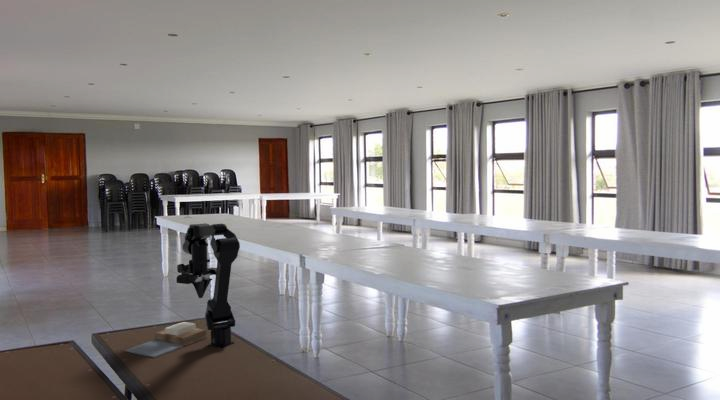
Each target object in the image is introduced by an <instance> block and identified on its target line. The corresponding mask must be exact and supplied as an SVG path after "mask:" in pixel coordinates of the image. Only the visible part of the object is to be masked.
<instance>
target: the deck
mask: <svg viewBox="0 0 720 400" xmlns="http://www.w3.org/2000/svg"><path fill="white" fill-rule="evenodd" d="M205 339H207V330H206V329H203V328H198V327H196V329H195V330H192V331H189V332H186V333H184V334H181V335H178V336H176V335H171V334H165V329H161V330H160V331H159V330H158V331H155V333H154V340H158V341H163V342H169V343H174V344H179V345H183V347H186V346H188V345H189V346H190V345H191V344H194V343H196V342H199V341H201V340H205Z"/></svg>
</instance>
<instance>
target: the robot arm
mask: <svg viewBox="0 0 720 400" xmlns="http://www.w3.org/2000/svg"><path fill="white" fill-rule="evenodd" d="M216 236H223V238H215V237H216ZM210 237H211V239H210V242H209V243H210V246H211V248H212V252H213V253H212V254H213V255H214V257H215V259H216V261H217V262H216V267H214V266H213V267H209V265H208V264H209V263H210V262H211V259H209V258H208V246H209V243H208V242H207V240H208V238H210ZM240 248H241V244H240V241H239V239H238V237H237V235H236V233H234V232H233V231H232V230H230V229H229V228H228V227H227V225H226V224H225V223H213V224H208V223H205V222H204V223H195V224H193V223H192V224H189V226H188V228H187V231H186V233H185V235H184V242H183V244H182V251H183V252H184V253H186V254H187V255H190V256H191V259H189V261H188V264H184V263H180V264H177V266H176V267H177V268H176V270H177V273H178V275H177V276H176V283H177V284H183V285H184V284H185V285H191V284H192V285H193V286H194V289H195V292H196V294H197V297H198V298H199V299H202V298H203V297H204V295H205V292H207V289H208V287H209V285H210V284H211V283H210V282H211V281H213V278H211V277H210V276H213V275H214V276H215V281H214V289H213V297H212V299H208V300H207V301H206V303H207V304H206V308H205V310H206V311H205V314H204V319H205V322H206V323H205V324H206V328H207V331H210V342H211V343H209V344H208V346H209V347H210V346H211V347H215V348H220V349H223V348H226V347H228V346H230V345H233V344H235V341H233V340H232V328H233V327H236V319H235V317H234V315H233V311H232V307H231V305H230V303H229V302H228V296H229V288H230V281H231V280H230V279H231V273H232V264H233V263H234V262H235V260H236V259H237V258H238V256H239V251H240Z"/></svg>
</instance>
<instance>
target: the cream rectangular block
mask: <svg viewBox="0 0 720 400" xmlns="http://www.w3.org/2000/svg"><path fill="white" fill-rule="evenodd" d="M196 325H197V324H196V323H193V322H189V321H188V322H187V321H182V322H179V323H175V324H173V325H170V326H167V327H164V330H165V334H171V335H176V336H178V335H181V334H184V333H186V332H189V331H192V330H195V329H196V328H197V327H196Z"/></svg>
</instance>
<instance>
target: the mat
mask: <svg viewBox="0 0 720 400" xmlns="http://www.w3.org/2000/svg"><path fill="white" fill-rule="evenodd" d="M183 347H184V346H183V345H179V344H174V343H169V342H163V341H158V340H155V339H153V340H150V341H146V342H144V343H142V344H141V343H140V344H139V345H136V346H133V347H130V348H128V349H124V351H125V352H127V353H129V354H130V353H131V354H136V355H141V356H145V357H149V358H154V359H155V358H157V357H161V356H163V355H165V354H168V353H170V352H173V351H176V350H179V349H181V348H183Z"/></svg>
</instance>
